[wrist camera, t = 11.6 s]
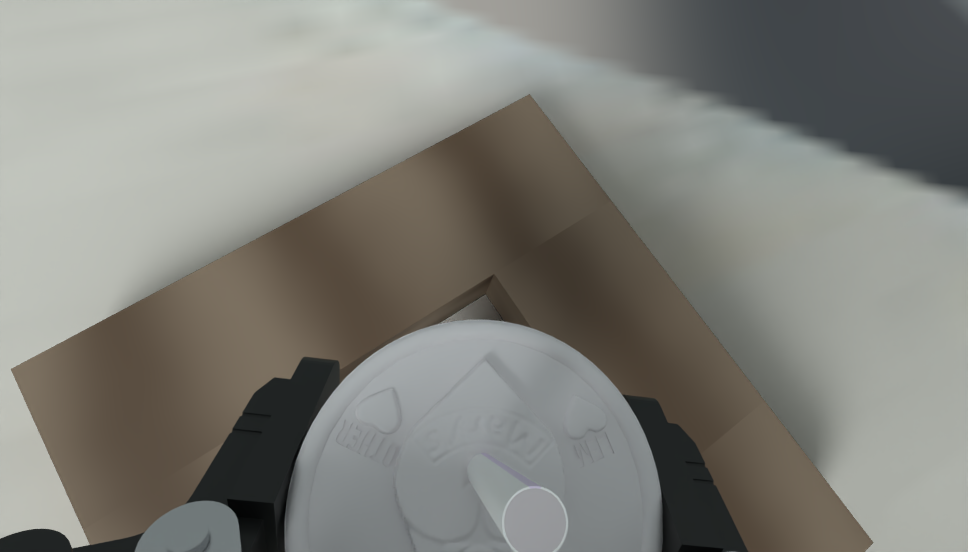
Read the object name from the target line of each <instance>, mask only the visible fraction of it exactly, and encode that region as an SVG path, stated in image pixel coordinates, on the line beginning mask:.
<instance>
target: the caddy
mask: <svg viewBox="0 0 968 552" xmlns="http://www.w3.org/2000/svg"><path fill="white" fill-rule="evenodd" d="M485 294H486V295H487V297H488V298H489V300H490V301H491V302H492V304H493V305H494V307H495V308H496V310H497V311H498V313H499V314H500V316H501V317H502V319H503V320H504V322H509V323H514V324H519V325H523V326H526V327H529V328H533V329H536V330H538V331H541V332H543V333H546V334H548V335H550V336H552V337H554V338H556V339H558V340H560V341H562V342H564V343H566V344H567V345H569V346H570V347H572V348H573V349H575V350H576V351H578V352H580V353H581V354H582V355H583V356H585V357H586V358H587V359H588V360H590V361H591V362H592V363H593V364H594V365H596V366H597V367H598V368H599V369H600V370H601V371H602V372H603V373H604V374H605V375H606V376H607V377H608V378H609V380H610V381H611V382H612V383H613V384H614V385H615V386H616V388H617V389H618V390H619V392H620V393H621V394H622V395H631V396H640V397H649V398H655V399H656V400H657V401H658V402H659V404H660V406H661V408H662V410H663V413H664V415H665V417H666V419H667V422H668V423H673V424H678V425H679V426H680V427H681V428H682V429H683V430H684V431H685V432H686V433H687V434H688V436H689V437H690V438H691V439H692V440H693V441H694V442H695V443H696V445H697V447H698V449H699V452H700V454H701V456H702V458H703V460H704V462H705V467H706V468H708V470H709V472H710V474H711V476H712V478H713V480H714V482H713V484H714V485H716V486H717V489H718V491H719V493H720V495H721V497H722V499H723V501H724V503H725V505H726V507H727V509H728V511H729V513H730V515H731V517H732V519H733V521H734V523H735V525H736V528H737V530H738V532H739V534H740V536H741V538H742V540H743V542H744V544H745V546H746V548H747V550H748V552H865V551H866V550H867V549H868V548H869V547H870V546H871V545H872V544H873V541H872V540H871V539H870V538H869V536H868V535H867V534H866V532H865V531H864V530H863V528H862V527H861V526H860V525H859V523H858V522H857V521H856V519H855V518H854V517H853V515H852V514H851V513H850V511H849V510H848V509H847V508H846V506H845V505H844V504H843V502H842V501H841V500H840V498H839V497H838V496H837V495H836V493H835V492H834V491H833V489H832V488H831V487H830V485H829V484H828V483H827V481H826V480H825V479H824V478H823V476H822V475H821V474H820V472H819V471H818V470H817V468H816V467H815V466H814V465H813V463H812V462H811V461H810V459H809V458H808V457H807V455H806V454H805V453H804V451H803V450H802V449H801V448H800V446H799V445H798V444H797V442H796V441H795V440H794V438H793V437H792V436H791V435H790V433H789V432H788V431H787V429H786V428H785V427H784V425H783V424H782V423H781V421H780V420H779V419H778V418H777V416H776V415H775V414H774V412H773V411H772V410H771V408H770V407H769V406H768V405H767V403H766V402H765V401H764V399H763V398H762V397H761V395H760V394H759V393H758V391H757V390H756V389H755V388H754V386H753V385H752V384H751V382H750V381H749V380H748V378H747V377H746V376H745V375H744V373H743V372H742V371H741V369H740V368H739V367H738V365H737V364H736V363H735V361H734V360H733V359H732V358H731V356H730V355H729V354H728V352H727V351H726V350H725V348H724V347H723V346H722V345H721V343H720V342H719V341H718V339H717V338H716V337H715V335H714V334H713V333H712V331H711V330H710V329H709V328H708V326H707V325H706V324H705V322H704V321H703V320H702V318H701V317H700V316H699V315H698V313H697V312H696V311H695V309H694V308H693V307H692V305H691V304H690V303H689V301H688V300H687V299H686V298H685V296H684V295H683V294H682V292H681V291H680V290H679V288H678V287H677V286H676V285H675V283H674V282H673V281H672V279H671V278H670V277H669V275H668V274H667V273H666V271H665V270H664V269H663V268H662V266H661V265H660V264H659V262H658V261H657V260H656V258H655V257H654V256H653V255H652V253H651V252H650V251H649V249H648V248H647V247H646V245H645V244H644V243H643V241H642V240H641V239H640V238H639V236H638V235H637V234H636V232H635V231H634V230H633V228H632V227H631V226H630V225H629V223H628V222H627V221H626V219H625V218H624V217H623V215H622V214H621V213H620V211H619V210H618V209H617V208H616V206H615V205H614V204H613V202H612V201H611V200H610V198H609V197H608V196H607V195H606V193H605V192H604V191H603V189H602V188H601V187H600V185H599V184H598V183H597V182H596V180H595V179H594V178H593V176H592V175H591V174H590V172H589V171H588V170H587V168H586V167H585V166H584V165H583V163H582V162H581V161H580V159H579V158H578V157H577V155H576V154H575V153H574V152H573V150H572V149H571V148H570V146H569V145H568V144H567V142H566V141H565V140H564V138H563V137H562V136H561V135H560V133H559V132H558V131H557V129H556V128H555V127H554V125H553V124H552V123H551V122H550V120H549V119H548V118H547V116H546V115H545V114H544V112H543V111H542V110H541V108H540V107H539V106H538V105H537V103H536V102H535V101H534V99H533V98H532V97H531V95H530V94H529V95H527V96H526V97H524V98H522V99H520V100H518V101H516V102H514V103H512V104H510V105H509V106H507V107H505V108H503V109H501V110H499V111H497V112H495V113H493V114H492V115H490V116H488V117H486V118H484V119H482V120H480V121H478V122H476V123H475V124H473V125H471V126H469V127H467V128H465V129H463V130H461V131H459V132H458V133H456V134H454V135H452V136H450V137H448V138H446V139H444V140H442V141H441V142H439V143H437V144H435V145H433V146H431V147H429V148H427V149H425V150H424V151H422V152H420V153H418V154H416V155H414V156H412V157H410V158H408V159H407V160H405V161H403V162H401V163H399V164H397V165H395V166H393V167H392V168H390V169H388V170H386V171H384V172H382V173H380V174H378V175H376V176H375V177H373V178H371V179H369V180H367V181H365V182H363V183H361V184H359V185H358V186H356V187H354V188H352V189H350V190H348V191H346V192H344V193H342V194H341V195H339V196H337V197H335V198H333V199H331V200H329V201H327V202H325V203H324V204H322V205H320V206H318V207H316V208H314V209H312V210H310V211H308V212H307V213H305V214H303V215H301V216H299V217H297V218H295V219H293V220H291V221H290V222H288V223H286V224H284V225H282V226H280V227H278V228H276V229H274V230H273V231H271V232H269V233H267V234H265V235H263V236H261V237H259V238H257V239H256V240H254V241H252V242H250V243H248V244H246V245H244V246H242V247H240V248H239V249H237V250H235V251H233V252H231V253H229V254H227V255H225V256H223V257H222V258H220V259H218V260H216V261H214V262H212V263H210V264H208V265H206V266H205V267H203V268H201V269H199V270H197V271H195V272H193V273H191V274H190V275H188V276H186V277H184V278H182V279H180V280H178V281H176V282H174V283H173V284H171V285H169V286H167V287H165V288H163V289H161V290H159V291H157V292H156V293H154V294H152V295H150V296H148V297H146V298H144V299H142V300H140V301H139V302H137V303H135V304H133V305H131V306H129V307H127V308H125V309H123V310H122V311H120V312H118V313H116V314H114V315H112V316H110V317H108V318H106V319H105V320H103V321H101V322H99V323H97V324H95V325H93V326H91V327H89V328H88V329H86V330H84V331H82V332H80V333H78V334H76V335H74V336H72V337H71V338H69V339H67V340H65V341H63V342H61V343H59V344H57V345H55V346H54V347H52V348H50V349H48V350H46V351H44V352H42V353H40V354H38V355H37V356H35V357H33V358H31V359H29V360H27V361H25V362H23V363H21V364H20V365H18V366H16V367H14V368H12V369H11V371H12V373H13V375H14V377H15V380H16V382H17V384H18V386H19V389H20V391H21V393H22V395H23V397H24V400H25V402H26V404H27V406H28V409H29V411H30V413H31V415H32V417H33V420H34V422H35V424H36V426H37V428H38V431H39V433H40V435H41V437H42V440H43V442H44V444H45V446H46V448H47V451H48V453H49V455H50V457H51V460H52V462H53V464H54V466H55V468H56V471H57V473H58V475H59V477H60V479H61V482H62V484H63V486H64V488H65V491H66V493H67V495H68V497H69V499H70V502H71V504H72V506H73V508H74V511H75V513H76V515H77V517H78V519H79V522H80V524H81V526H82V528H83V530H84V533H85V535H86V537H87V539H88V542H89V544H90V545H93V544H98V543H103V542H108V541H113V540H118V539H123V538H127V537H131V536H135V535H138V534H141V533H144V532H145V531H146V530H147V529H148V528H149V527H150V526H151V525H152V524H153V523H154V522H155V521H156V520H157V519H159V518H160V517H161V516H163V515H164V514H166V513H167V512H169V511H171V510H173V509H175V508H177V507H179V506H182V505H185V504H186V503H187V501H188V500H189V498H190V497H191V496H192V494H193V492H194V491H195V489H196V487H197V486H198V484H199V483H200V481H201V479H202V478H203V476H204V474H205V473H206V471H207V469H208V468H209V466H210V464H211V463H212V461H213V460H214V458H215V456H216V455H217V453H218V451H219V450H220V448H221V446H222V445H223V443H224V442H225V440H226V438H227V437H228V435H229V433H232V428H233V427H234V425H235V424H236V422H237V420H238V419H239V417H240V416H242V412H243V410H244V409H245V407H246V406H247V404H248V402H249V401H250V399H251V397H252V396H253V394H254V393H255V392H256V391H257V390H259V389H260V388H261V387H262V386H264V385H265V384H266V383H268V382H269V381H270V380H271V379H273V378H274V377H276V378H285V379H291V378H292V376H293V374H294V372H295V370H296V368H297V366H298V364H299V363H300V361H301V359H302V358H303V357H313V358H322V359H330V360H338V361H339V365H340V384H341V382H342V381H343V380H344V379H345V378H346V377H347V376H348V375H349V374H350V373H351V372H352V371H353V370H354V369H355V368H356V367H358V366H359V365H360V364H361V363H362V362H364V361H365V360H366V359H367V358H369V357H370V356H371V355H372V354H374V353H375V352H377V351H378V350H380V349H381V348H383V347H385V346H386V345H388V344H389V343H391V342H393V341H395V340H397V339H399V338H401V337H403V336H405V335H407V334H410V333H412V332H415V331H417V330H420V329H423V328H426V327H430V326H433V325H437V324H439V323H440V322H442V321H443V320H445V319H447V318H448V317H450V316H451V315H453V314H455V313H456V312H458V311H459V310H461V309H462V308H464V307H466V306H467V305H469V304H470V303H472V302H474V301H475V300H477V299H478V298H480V297H481V296H483V295H485Z"/></svg>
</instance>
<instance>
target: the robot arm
mask: <svg viewBox="0 0 968 552" xmlns="http://www.w3.org/2000/svg"><path fill="white" fill-rule="evenodd" d="M339 385H340V365H339V361H338V360H330V359H322V358H313V357H303V358H302V359H301V361H300V363H299V364H298V366H297V368H296V370H295V372H294V374H293V376H292V378H291V379H285V378H276V377H274V378H273V379H271V380H270V381H269V382H268V383H266V384H265V385H264V386H262V387H261V388H260V389H259V390H257V391H256V392H255V393H254V394H253V396H252V397H251V399H250V401H249V402H248V404H247V406H246V407H245V409H244V410H243V412H242V416H240V417H239V419H238V420H237V422H236V424H235V425H234V427H233V428H232V433H229V435H228V437H227V438H226V440H225V442H224V443H223V445H222V446H221V448H220V450H219V451H218V453H217V455H216V456H215V458H214V460H213V461H212V463H211V464H210V466H209V468H208V469H207V471H206V473H205V474H204V476H203V478H202V479H201V481H200V483H199V484H198V486H197V487H196V489H195V491H194V492H193V494H192V496H191V497H190V498H189V500H188V501H187V503H186V504H185V505H182V506H179V507H177V508H175V509H173V510H171V511H169V512H167V513H166V514H164V515H163V516H161V517H160V518H159V519H157V520H156V521H155V522H154V523H153V524H152V525H151V526H150V527H149V528H148V529H147V530H146V531H145V532H144V533H141V534H138V535H135V536H131V537H127V538H123V539H118V540H113V541H108V542H103V543H98V544H93V545H88V546H83V547H78V548H73V549H72V547H71V545H70V542H69V540H68V539H67V538H66V537H65V535H63V534H61V533H60V532H57V531H54V530H50V529H32V530H26V531H22V532H18V533H15V534H11V535H9V536H6V537H4V538H1V539H0V552H285V513H286V502H287V497H288V491H289V486H290V481H291V477H292V473H293V470H294V466H295V462H296V460H297V457H298V454H299V452H300V449H301V446H302V444H303V441H304V439H305V437H306V435H307V433H308V431H309V429H310V427H311V425H312V423H313V421H314V420H315V418H316V416H317V415H318V413H319V411H320V410H321V408H322V407H323V405H324V404H325V402H326V401H327V400H328V398H329V397H330V396H331V394H332V393H333V392H334V390H335V389H336V388H337V387H338V386H339ZM622 396H623V397H624V398H625V400H626V401H627V403H628V404H629V406H630V407H631V409H632V411H633V412H634V414H635V416H636V417H637V419H638V421H639V423H640V425H641V427H642V430H643V432H644V434H645V436H646V439H647V441H648V444H649V446H650V449H651V452H652V455H653V458H654V462H655V465H656V469H657V473H658V478H659V483H660V488H661V496H662V511H663V542H662V552H748V550H747V548H746V546H745V544H744V542H743V540H742V538H741V536H740V534H739V532H738V530H737V528H736V525H735V523H734V521H733V519H732V517H731V515H730V513H729V511H728V509H727V507H726V505H725V503H724V501H723V499H722V497H721V495H720V493H719V491H718V489H717V486H716V485H714V484H713V482H714V480H713V478H712V476H711V474H710V472H709V470H708V468H706V467H705V462H704V460H703V458H702V456H701V454H700V452H699V449H698V447H697V445H696V443H695V442H694V441H693V440H692V439H691V438H690V437H689V436H688V434H687V433H686V432H685V431H684V430H683V429H682V428H681V427H680V426H679V425H678V424H673V423H668V422H667V419H666V417H665V415H664V413H663V410H662V408H661V406H660V404H659V402H658V401H657V400H656V399H655V398H649V397H640V396H631V395H622Z"/></svg>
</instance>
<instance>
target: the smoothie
mask: <svg viewBox="0 0 968 552" xmlns="http://www.w3.org/2000/svg"><path fill="white" fill-rule="evenodd" d="M662 542H663V511H662V496H661V488H660V483H659V478H658V473H657V469H656V465H655V462H654V458H653V455H652V452H651V449H650V446H649V444H648V441H647V439H646V436H645V434H644V432H643V430H642V427H641V425H640V423H639V421H638V419H637V417H636V416H635V414H634V412H633V411H632V409H631V407H630V406H629V404H628V403H627V401H626V400H625V398H624V397H623V396H622V394H621V393H620V392H619V390H618V389H617V388H616V386H615V385H614V384H613V383H612V382H611V381H610V380H609V378H608V377H607V376H606V375H605V374H604V373H603V372H602V371H601V370H600V369H599V368H598V367H597V366H596V365H594V364H593V363H592V362H591V361H590V360H588V359H587V358H586V357H585V356H583V355H582V354H581V353H580V352H578V351H576V350H575V349H573V348H572V347H570V346H569V345H567V344H566V343H564V342H562V341H560V340H558V339H556V338H554V337H552V336H550V335H548V334H546V333H543V332H541V331H538V330H536V329H533V328H529V327H526V326H523V325H519V324H514V323H509V322H504V321H495V320H461V321H452V322H447V323H442V324H437V325H433V326H430V327H426V328H423V329H420V330H417V331H415V332H412V333H410V334H407V335H405V336H403V337H401V338H399V339H397V340H395V341H393V342H391V343H389V344H388V345H386V346H385V347H383V348H381V349H380V350H378V351H377V352H375V353H374V354H372V355H371V356H370V357H369V358H367V359H366V360H365V361H364V362H362V363H361V364H360V365H359V366H358V367H356V368H355V369H354V370H353V371H352V372H351V373H350V374H349V375H348V376H347V377H346V378H345V379H344V380H343V381H342V382H341V384H340V385H339V386H338V387H337V388H336V389H335V390H334V392H333V393H332V394H331V396H330V397H329V398H328V400H327V401H326V402H325V404H324V405H323V407H322V408H321V410H320V411H319V413H318V415H317V416H316V418H315V420H314V421H313V423H312V425H311V427H310V429H309V431H308V433H307V435H306V437H305V439H304V441H303V444H302V446H301V449H300V452H299V454H298V457H297V460H296V462H295V466H294V470H293V473H292V477H291V481H290V486H289V491H288V497H287V502H286V513H285V552H662Z"/></svg>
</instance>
